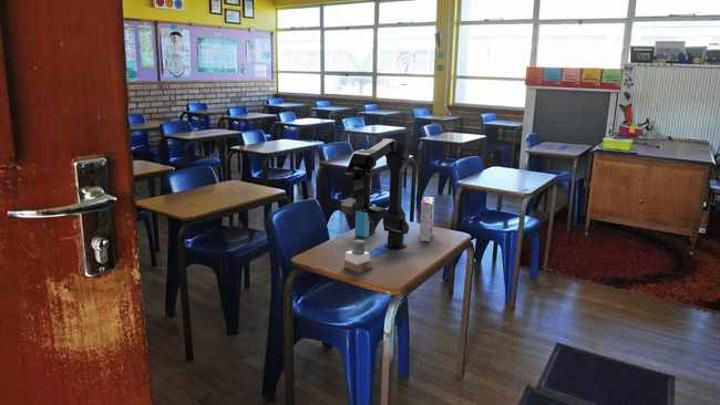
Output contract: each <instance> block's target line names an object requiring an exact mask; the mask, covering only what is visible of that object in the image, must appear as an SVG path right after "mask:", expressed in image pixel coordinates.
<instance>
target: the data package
mask: <svg viewBox="0 0 720 405" xmlns="http://www.w3.org/2000/svg"><path fill="white" fill-rule="evenodd" d="M375 207H377V205H376V204H372V207H370V208H375ZM364 210H365V209H364ZM367 218H369V216H368V213H365V212H361V211H359V212H357V211H356V213H355V219H354V223H355V224H354V225H355V226H354V227H355V228H354V235H355V236H356V237H358V238H359V237H360V238H364V239H365V238H368V237H370V236H369V221H368V219H367Z"/></svg>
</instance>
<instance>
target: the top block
mask: <svg viewBox="0 0 720 405" xmlns="http://www.w3.org/2000/svg"><path fill="white" fill-rule="evenodd" d="M344 257H345V260H346V261H349V262H351V263H354V264H356V265H358V264H361V263H365V262H368V261H369V260H370V252H368V251H366V250H365V253H364V254H362V255H356V254H353V253H352V249H351V250H349V251H348V250H347V251H345V255H344Z"/></svg>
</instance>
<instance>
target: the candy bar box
mask: <svg viewBox="0 0 720 405" xmlns="http://www.w3.org/2000/svg"><path fill="white" fill-rule="evenodd" d="M434 212H435V197H434V196H423V197H422V199H421V203H420V218H419V219H420V220H419V221H420V222H419V223H420V224H419V225H420V226H419V240H418V241H419V242H424V241H426V242H427V243H430V242H432V238H433V231H434Z"/></svg>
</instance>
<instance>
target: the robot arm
mask: <svg viewBox="0 0 720 405" xmlns="http://www.w3.org/2000/svg"><path fill="white" fill-rule="evenodd" d="M384 157H385V162H386V166H387V168H388V169H389V192H388V194H389V196H388V207H387V209H386V208H385V207H380V206H376V207H375V208H370V207H372V204H373V203H372V202H371V196H373V195H374V192H373V191H372V190H371V188H372V176H373V175H374V174H375V172H374V171H373V169H374V168H375V167H376V166H377V161H379V160H380V159H382V158H384ZM409 159H410V152H409V150H408V149H407V147H405V146H403V145H402V144H400V143H399V142H398V141H397V140H396V139H393V138H382V140H381V141H379V142H378V143H377V144H375V145H373V146H372V147H370V148H368V149H363V150H358V151H355V152H353V153H352V156H351V158H350V160H349V162H348V166H347V168H346V170H345V173H344V177H342V178H341V179H340V180H339V183H338V186H339V190H340V192H341V193H342V194H344V195H347V196H348V195H349V196H350V197H347V198H346V199H342V200H341V199H340V200H338V201H337V203H336V210H339V212H340V213H342V215H344V217H345V219H346V223H347V225H348V230H349V231H353V229H354V225H355V224H354V223H355V219H356V211H357V212H359V211H361V212H365V213H368V216H369V218H367V219H368V221H369V236H368V237H372V236H373V235H374V234H375V231H376V229H377V227H378V225H379V224H380V222H381V220H382V224H383V225H382V226H383V231H384V232H387V243H385V244H384V247H387V248H390V249H394V250H396V251H397V250H398V251H399V250H400V249H403V248H406V247H407V244H405V243H404V241H405V235H407V234H408V233H409V230H410V225H409V223H408V222H407V220H406V213H405V211H404V209H403V208H402V202H403V185H404V184H403V181H404V178H403V177H404V170H405V169H406V167H407V166H408V165H409V164H408V163H409ZM373 205H374V204H373ZM364 209H365V210H364Z"/></svg>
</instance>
